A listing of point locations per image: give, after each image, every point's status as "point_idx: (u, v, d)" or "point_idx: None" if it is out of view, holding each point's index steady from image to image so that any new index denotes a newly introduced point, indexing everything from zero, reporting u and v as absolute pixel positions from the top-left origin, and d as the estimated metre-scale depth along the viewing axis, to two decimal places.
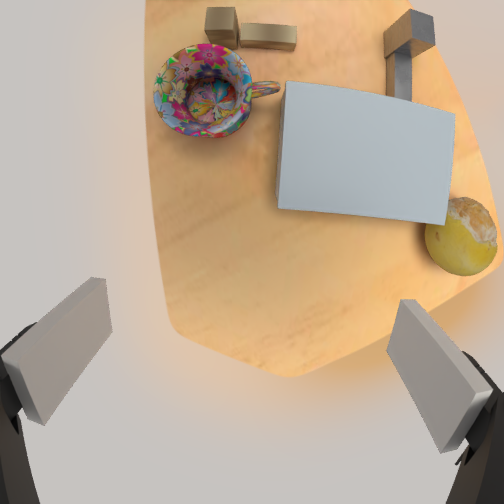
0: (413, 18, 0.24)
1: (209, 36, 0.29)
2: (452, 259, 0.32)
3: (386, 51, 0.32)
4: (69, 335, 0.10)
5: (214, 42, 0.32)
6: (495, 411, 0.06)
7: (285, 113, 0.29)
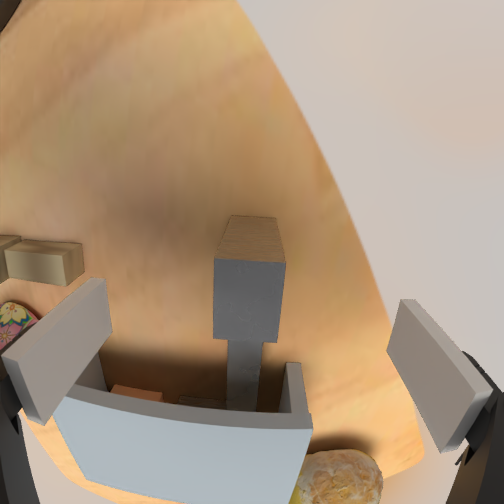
0: (221, 286, 0.14)
1: None
2: None
3: None
4: (69, 335, 0.10)
5: None
6: (495, 411, 0.06)
7: (55, 419, 0.19)
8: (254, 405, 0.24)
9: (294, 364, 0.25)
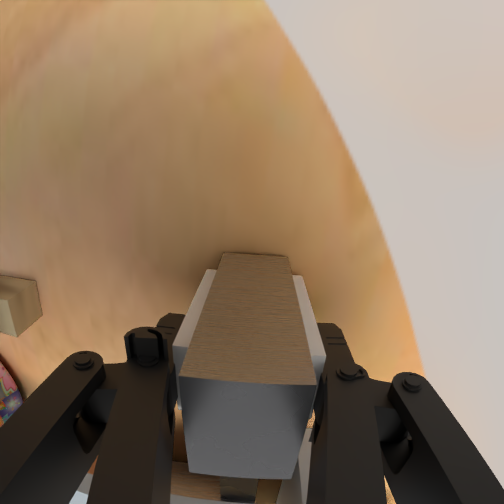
0: (196, 415, 0.07)
1: None
2: None
3: None
4: None
5: None
6: (327, 386, 0.08)
7: None
8: (255, 484, 0.16)
9: None
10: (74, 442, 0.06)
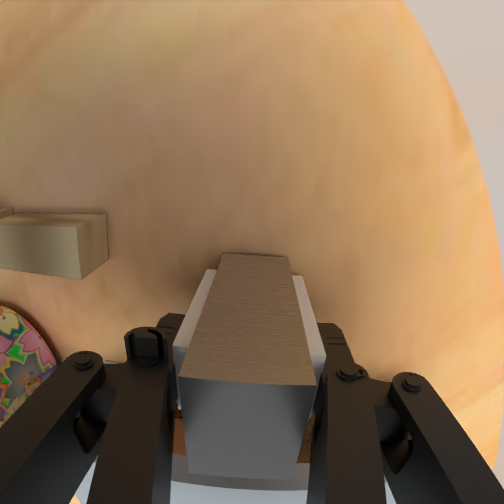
0: (196, 415, 0.07)
1: None
2: None
3: None
4: None
5: None
6: (327, 386, 0.08)
7: None
8: None
9: None
10: (74, 442, 0.06)
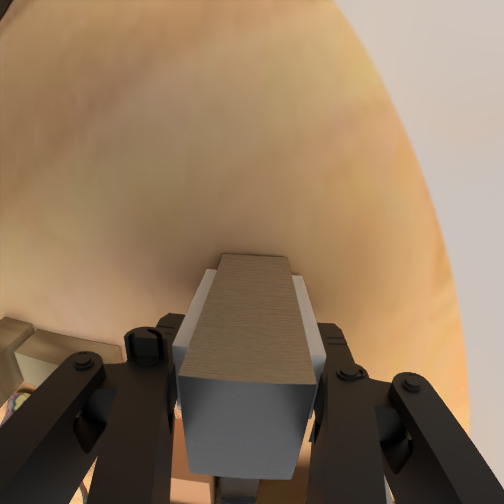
0: (196, 415, 0.07)
1: None
2: None
3: None
4: None
5: None
6: (327, 386, 0.08)
7: None
8: (256, 485, 0.16)
9: None
10: (74, 442, 0.06)
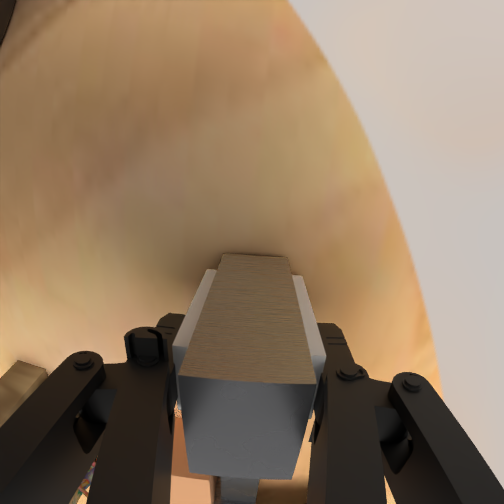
0: (196, 415, 0.07)
1: None
2: None
3: None
4: None
5: None
6: (327, 386, 0.08)
7: None
8: (255, 485, 0.16)
9: None
10: (74, 441, 0.06)
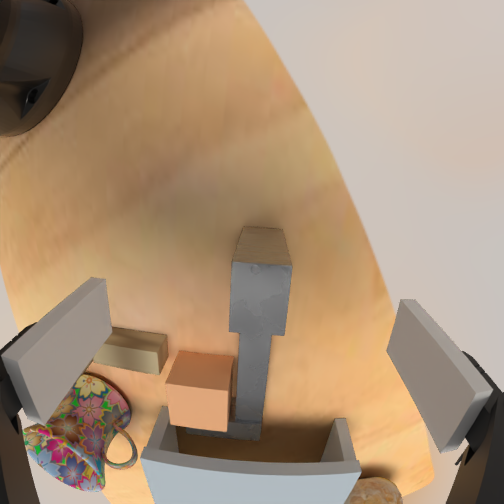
0: (237, 285, 0.16)
1: None
2: None
3: None
4: (69, 335, 0.10)
5: None
6: (495, 411, 0.06)
7: (147, 477, 0.23)
8: (262, 401, 0.26)
9: (341, 419, 0.29)
10: None
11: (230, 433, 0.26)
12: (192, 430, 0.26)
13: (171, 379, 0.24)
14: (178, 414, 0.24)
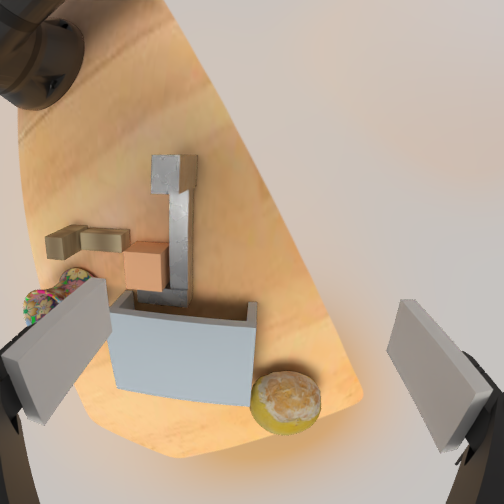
0: (154, 167, 0.31)
1: None
2: (261, 426, 0.41)
3: None
4: (69, 335, 0.10)
5: None
6: (495, 411, 0.06)
7: None
8: (186, 270, 0.40)
9: (253, 302, 0.44)
10: None
11: (167, 300, 0.41)
12: (142, 299, 0.41)
13: (127, 250, 0.38)
14: (130, 278, 0.39)
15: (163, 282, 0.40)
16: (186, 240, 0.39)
